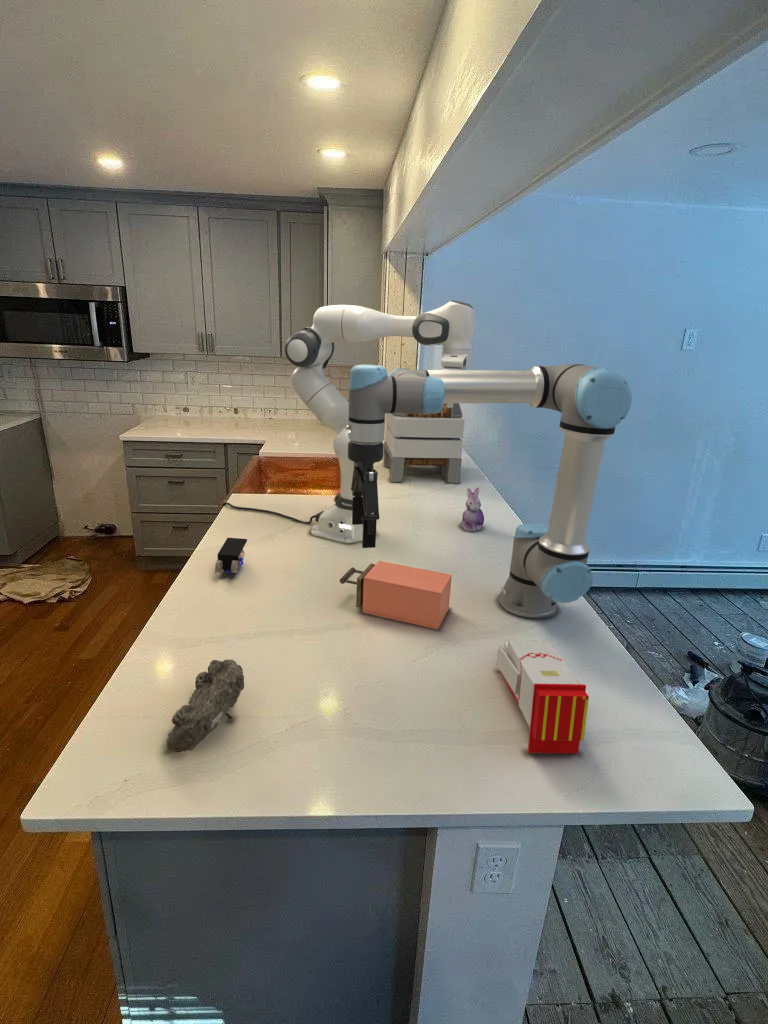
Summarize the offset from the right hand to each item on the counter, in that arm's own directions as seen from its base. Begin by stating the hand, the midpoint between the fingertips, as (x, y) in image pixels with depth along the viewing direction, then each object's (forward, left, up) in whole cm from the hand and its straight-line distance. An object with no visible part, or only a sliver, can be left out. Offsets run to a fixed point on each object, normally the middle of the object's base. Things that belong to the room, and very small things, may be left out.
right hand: (363, 535), depth 126 cm
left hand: (-34, -53, +20) cm, 66 cm away
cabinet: (-14, -13, -27) cm, 33 cm away
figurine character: (+33, -41, -27) cm, 59 cm away
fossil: (+31, +23, -27) cm, 48 cm away
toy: (-32, +27, -27) cm, 50 cm away
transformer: (-48, -142, -27) cm, 153 cm away
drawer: (-9, -15, -26) cm, 32 cm away
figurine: (-51, -70, -27) cm, 91 cm away
